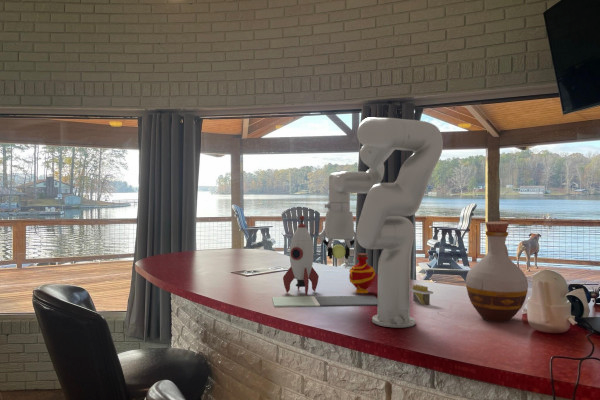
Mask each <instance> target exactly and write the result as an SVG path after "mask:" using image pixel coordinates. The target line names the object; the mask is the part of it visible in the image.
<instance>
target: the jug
mask: <svg viewBox="0 0 600 400" xmlns="http://www.w3.org/2000/svg"><path fill="white" fill-rule="evenodd" d="M509 224H510V223H509V222H508V221H487V222H485V226H486V227H485V228H486V229H487V231H485V236H487V241H488V251H487V254H486V255H484V256H483V257H482V258H481V259H480V260H479V261H478V262H477V263H476V264H475V265H473V266H472V267H471V268H470V269H469V271H468V272H467V274H466V278H465V286H466V292H467V296H468V298H469V301H470V303H471V305H472V307H474V309H475V310H476V312H477V313H478V315H479V316H480V317H481V318H482V319H483V320H485V321H489V322H495V323H496V322H497V323H506V322H510V321H511V320H512V319H513V318H514V317H515V316H516V315H517V313H518V312H519V311H521V309H522V308H523V305H524V304H525V301H526V298H527V295H528V289H529V282H528V278H527V276H526V274H525V273H524V271H523V270H521V268H520V267H519V266H517V264H515V262H514V261H512V260H511V258H510V257H509V252H508V250H509V249H508V247H507V244H506V240H507V237H508V235H509V231H507V230H508V227H509Z"/></svg>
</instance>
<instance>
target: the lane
mask: <svg viewBox="0 0 600 400" xmlns="http://www.w3.org/2000/svg"><path fill="white" fill-rule="evenodd" d="M271 298H272V303H273V307H274V308H286V307H287V308H289V307H291V308H292V307H295V308H297V307H298V306H299V308H300V306H305V307H357V306H360V307H362V306H363V307H364V306H367V307H368V306H372V307H373V306H378V297H376V296H375V295H337V296H336V295H326V296H325V295H324V296H323V295H321V296H317V295H316V296H313V295H312V296H308V295H307V296H272V297H271Z"/></svg>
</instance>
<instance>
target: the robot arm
mask: <svg viewBox="0 0 600 400" xmlns="http://www.w3.org/2000/svg"><path fill="white" fill-rule="evenodd" d="M356 137H357V139H358V142H359V143H360V144H361V145H362V146H361V148H360V149H359V158H360V159H361V161H362V163H363V164H365V165H366V166H367V167H368V168H369V169H367V170H366V171H355V170H354V171H351V170H350V171H349V170H348V171H347V170H344V171H343V170H342V171H340V172H332V173H330V174H329V177H328V203H324V208H326V209H327V211H326V215H325V221H324V229H323V230H322V232H320V234H319V235H318V237H317V239H318V240H320V242H322V243H323V244H324V245H325V246H326V247H327V257H328V259H329V260H333V255H332V248H333V246H332V244H333V241H334V240H337V241H338V240H339V241H340V240H343V241H344V243H345V246H344V248H345V250H346V253H345V256H344V259H346V260H349V257H350V255H351V254H350V252H351V250H350V249H351V247H352V246H353V245H354V244H355V243H356V242H358V245H360V247H362V248H363V249H367V250H382V249H383V250H382V251H381V253H380V255H379V257H378V263H377V299H378V305H376V307H377V309H376V310H377V314H375V315H373V316H372V317H371V319H372V320H371V322H372V323H373V324H375V325H377V326H380V327H387V328H397V329H398V328H399V329H400V328H411V327H413V326H414V325H416V319H415V318H414V317H413V316H411V291H410V288H411V271H412V270H411V269H412V268H411V266H412V265H411V263H412V252H413V251H412V250H413V245H414V240H415V226H414V224H413V222H412V221H411V220H410V219H409V218H407V217H410V216H413V215H415V214H416V213H417V212H418V210H419V209H420V206H421V204H422V201H423V198H424V195H425V193H426V190H427V187H428V185H429V181H430V178H431V176H432V174H433V172H434V170H435V168H436V166H437V164H438V163H439V161H440V158H441V155H442V152H443V150H444V149H443V147H444V140H443V134H442V132H441V130H440V129H439V127H438V126H436V125H435V124H434V123H431V122H428V121H423V120H417V119H405V118H404V119H403V118H396V117H374V116H372V117H371V116H370V117H369V116H368V117H366V118H364V119H363V120H362V121H361V122H360V124H359V125H358V128H357V132H356ZM395 150H396V151H397V150H398V151H410V152H411V151H412V152H413V153H412V154H411V155H409V157H407V159H406V160H405V161H404V162H403V164H402V165H401V167H400V169H399V171H398V174H397V178H396V180H395V181H394V182H382V180H383V179H384V176H385V165H384V163H385V162H386V161H387V160H388V158H389V157H390V156H391V155H392V153H393V152H394V151H395ZM351 194H366V197H365V200H364V202H363V206H362V209H361V213H360V215H359V220H358V223H357V227H356V231H355V227H354V226H355V225H354V216H353V211H350V210H351V207H350V205H351ZM324 237H325V238H326V239H325V238H324Z"/></svg>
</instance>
